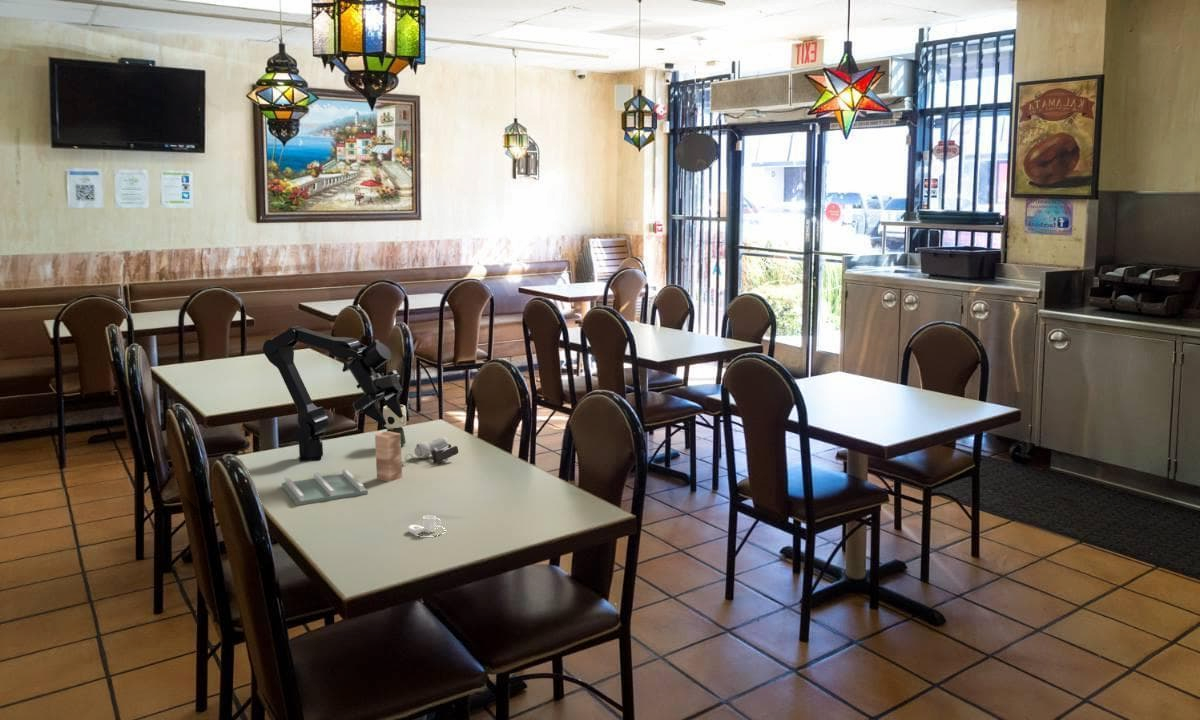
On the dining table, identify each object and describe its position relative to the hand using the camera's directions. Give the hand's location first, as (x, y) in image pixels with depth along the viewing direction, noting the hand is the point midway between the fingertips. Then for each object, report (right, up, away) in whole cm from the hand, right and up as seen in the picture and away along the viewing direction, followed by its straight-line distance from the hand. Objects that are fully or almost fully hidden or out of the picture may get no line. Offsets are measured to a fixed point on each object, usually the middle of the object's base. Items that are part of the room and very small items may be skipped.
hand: (393, 421), depth 280 cm
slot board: (-15, -18, -18) cm, 30 cm away
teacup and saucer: (+18, -24, -46) cm, 55 cm away
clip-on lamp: (+8, -13, +10) cm, 18 cm away
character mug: (-5, -10, +26) cm, 28 cm away
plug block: (0, -16, -7) cm, 18 cm away
